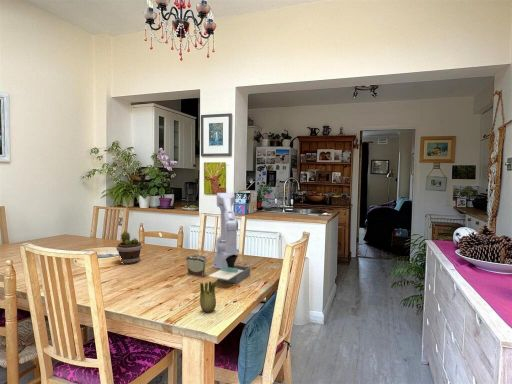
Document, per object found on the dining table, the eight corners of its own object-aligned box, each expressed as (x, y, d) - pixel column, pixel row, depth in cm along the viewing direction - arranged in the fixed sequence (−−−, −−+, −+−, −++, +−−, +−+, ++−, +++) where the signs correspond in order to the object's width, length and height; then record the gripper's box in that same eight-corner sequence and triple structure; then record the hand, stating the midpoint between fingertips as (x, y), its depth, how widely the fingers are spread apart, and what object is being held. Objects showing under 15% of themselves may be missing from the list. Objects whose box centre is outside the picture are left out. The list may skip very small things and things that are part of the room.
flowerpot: (147, 261, 200) (147, 229, 199) (126, 267, 187) (125, 233, 186) (132, 257, 207) (132, 227, 206) (110, 263, 195) (110, 230, 193)
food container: (211, 274, 176) (211, 256, 175) (204, 277, 170) (204, 259, 169) (192, 271, 181) (192, 253, 180) (185, 274, 175) (185, 256, 175)
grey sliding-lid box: (217, 280, 166) (217, 272, 166) (232, 272, 180) (232, 264, 180) (236, 283, 161) (236, 275, 161) (250, 275, 176) (250, 267, 176)
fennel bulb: (198, 311, 128) (198, 282, 127) (204, 307, 133) (205, 278, 132) (211, 314, 126) (211, 284, 125) (217, 309, 131) (217, 280, 130)
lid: (208, 276, 158) (208, 271, 158) (224, 268, 172) (224, 263, 172) (228, 280, 153) (228, 274, 153) (243, 271, 168) (243, 266, 168)
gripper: (231, 246, 158) (230, 274, 159) (244, 241, 171) (243, 266, 172) (218, 245, 161) (218, 272, 161) (232, 240, 174) (232, 265, 175)
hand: (230, 269), depth 167 cm, fingers closed
